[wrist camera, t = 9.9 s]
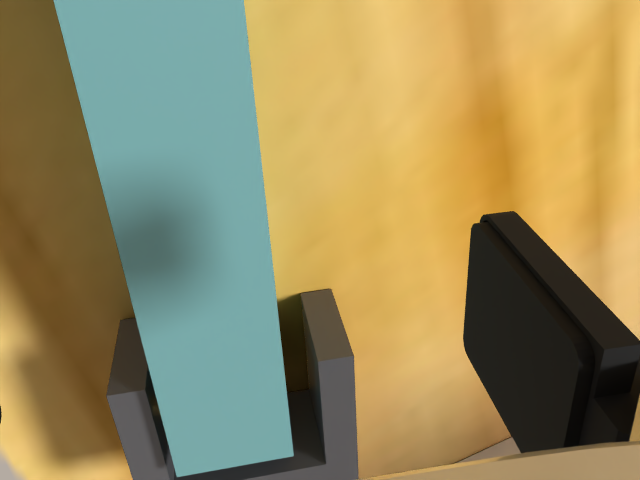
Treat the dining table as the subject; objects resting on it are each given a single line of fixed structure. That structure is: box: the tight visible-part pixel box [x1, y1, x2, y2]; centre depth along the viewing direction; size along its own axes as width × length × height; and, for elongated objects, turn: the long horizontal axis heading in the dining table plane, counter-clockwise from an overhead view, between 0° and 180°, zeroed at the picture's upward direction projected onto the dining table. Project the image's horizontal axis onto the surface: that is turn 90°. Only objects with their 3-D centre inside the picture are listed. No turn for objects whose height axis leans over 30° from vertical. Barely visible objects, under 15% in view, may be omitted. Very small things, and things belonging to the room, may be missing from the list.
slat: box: [54, 0, 294, 477], centre depth 17 cm, size 4×22×5 cm, turn 3°
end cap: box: [106, 289, 359, 480], centre depth 23 cm, size 8×6×4 cm
